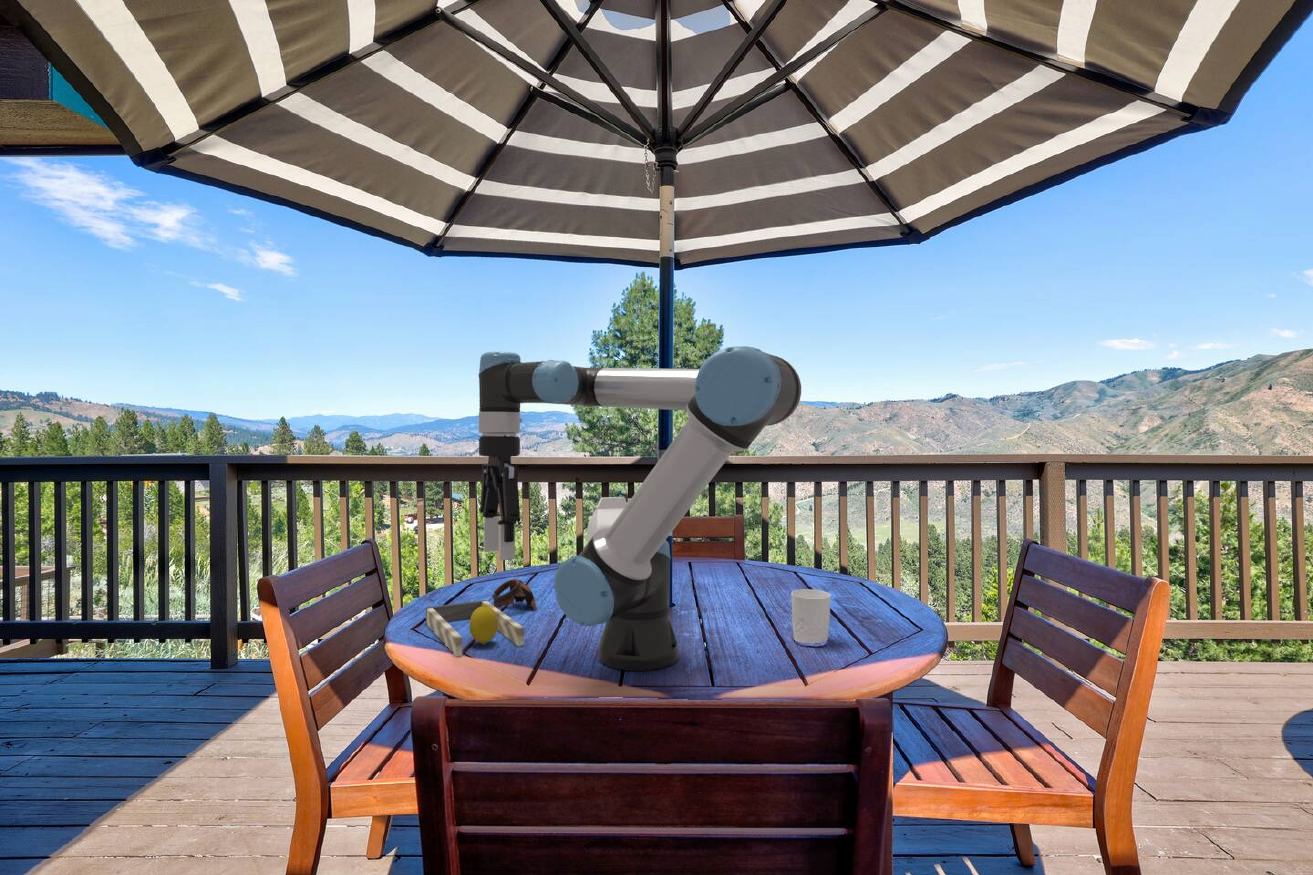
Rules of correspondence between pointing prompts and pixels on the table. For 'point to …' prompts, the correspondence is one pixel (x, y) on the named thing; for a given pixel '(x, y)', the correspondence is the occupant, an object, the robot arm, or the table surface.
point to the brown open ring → (513, 594)
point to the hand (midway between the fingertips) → (498, 555)
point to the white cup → (810, 615)
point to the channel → (461, 611)
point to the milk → (605, 514)
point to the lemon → (483, 624)
